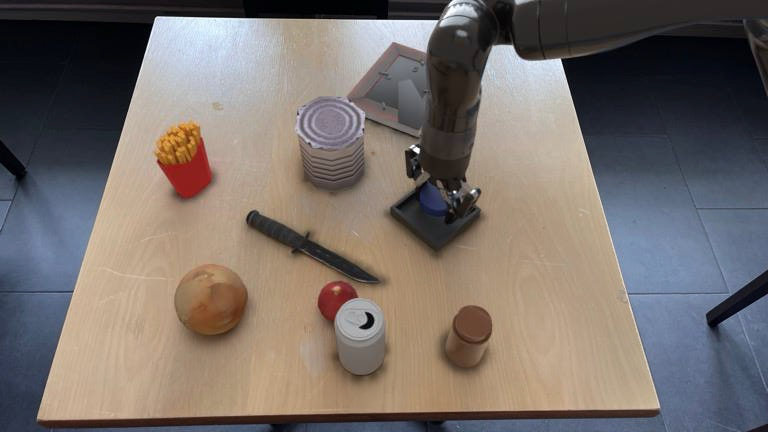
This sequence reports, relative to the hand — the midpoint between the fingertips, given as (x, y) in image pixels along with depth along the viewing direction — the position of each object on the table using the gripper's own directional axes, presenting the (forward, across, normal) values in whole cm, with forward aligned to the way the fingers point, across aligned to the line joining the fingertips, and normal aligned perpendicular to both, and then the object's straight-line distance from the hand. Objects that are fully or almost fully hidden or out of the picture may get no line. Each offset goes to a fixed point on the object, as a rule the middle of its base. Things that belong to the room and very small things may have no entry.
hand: (435, 209), depth 87 cm
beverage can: (+2, +10, -26) cm, 27 cm away
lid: (-3, 0, 0) cm, 3 cm away
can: (+2, -20, -6) cm, 20 cm away
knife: (+2, -8, -20) cm, 21 cm away
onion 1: (+2, -10, -37) cm, 38 cm away
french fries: (+2, -34, -26) cm, 42 cm away
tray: (+2, 0, 0) cm, 2 cm away
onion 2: (+2, +2, -24) cm, 24 cm away
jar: (+2, +19, -14) cm, 24 cm away
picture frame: (+2, -26, +18) cm, 31 cm away
